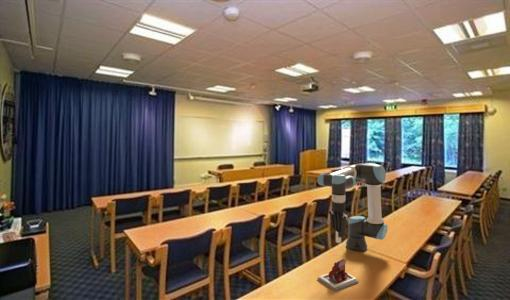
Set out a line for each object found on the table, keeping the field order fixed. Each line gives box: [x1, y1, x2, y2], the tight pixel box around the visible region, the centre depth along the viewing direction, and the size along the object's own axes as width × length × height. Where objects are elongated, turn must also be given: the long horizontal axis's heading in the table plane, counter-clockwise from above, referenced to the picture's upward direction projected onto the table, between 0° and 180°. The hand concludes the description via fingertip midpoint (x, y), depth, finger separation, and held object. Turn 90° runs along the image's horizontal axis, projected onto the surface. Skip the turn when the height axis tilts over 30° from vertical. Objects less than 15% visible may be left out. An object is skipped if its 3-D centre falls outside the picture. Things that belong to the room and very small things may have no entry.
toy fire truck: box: [328, 258, 349, 283], centre depth 156 cm, size 7×12×10 cm, turn 126°
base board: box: [317, 272, 359, 292], centre depth 156 cm, size 18×14×2 cm
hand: (338, 242), depth 155 cm, fingers closed
